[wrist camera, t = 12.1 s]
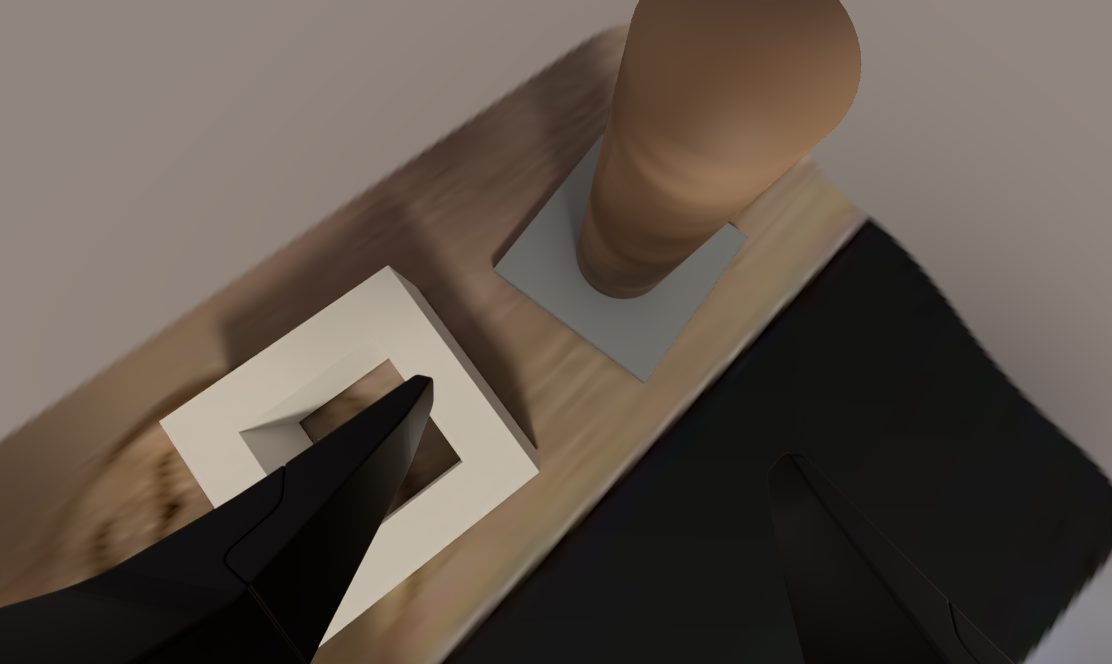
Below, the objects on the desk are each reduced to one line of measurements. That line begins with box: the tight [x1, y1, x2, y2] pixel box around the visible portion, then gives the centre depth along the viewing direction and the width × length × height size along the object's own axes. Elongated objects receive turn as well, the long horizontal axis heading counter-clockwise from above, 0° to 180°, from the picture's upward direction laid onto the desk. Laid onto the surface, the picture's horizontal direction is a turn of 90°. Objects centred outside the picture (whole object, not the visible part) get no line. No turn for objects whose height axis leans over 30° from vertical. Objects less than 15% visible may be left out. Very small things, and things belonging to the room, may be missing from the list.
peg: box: [577, 0, 861, 299], centre depth 15 cm, size 5×5×13 cm
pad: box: [493, 133, 748, 383], centre depth 21 cm, size 10×10×1 cm
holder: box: [159, 265, 540, 648], centre depth 18 cm, size 11×11×4 cm
